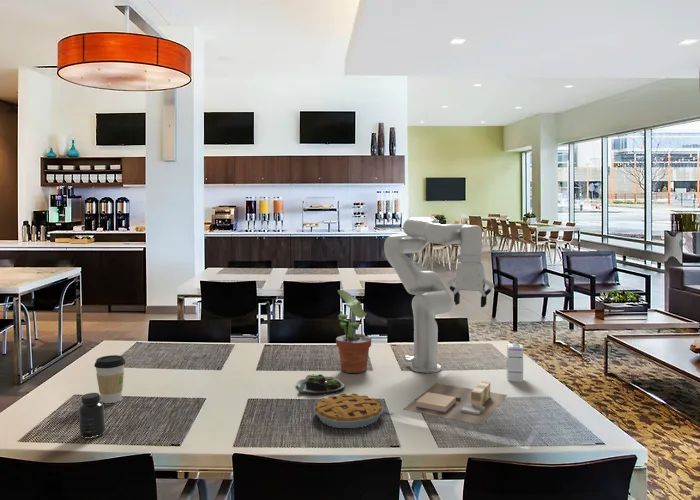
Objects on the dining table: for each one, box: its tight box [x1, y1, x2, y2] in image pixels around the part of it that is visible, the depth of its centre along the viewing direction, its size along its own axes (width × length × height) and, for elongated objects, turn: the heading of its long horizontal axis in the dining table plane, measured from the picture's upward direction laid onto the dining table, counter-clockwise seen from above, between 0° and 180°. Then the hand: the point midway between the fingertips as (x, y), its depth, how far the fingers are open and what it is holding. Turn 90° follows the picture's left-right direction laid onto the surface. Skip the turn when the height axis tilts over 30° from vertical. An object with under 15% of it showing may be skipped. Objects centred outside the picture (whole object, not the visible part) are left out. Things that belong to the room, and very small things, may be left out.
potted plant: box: [335, 289, 372, 374], centre depth 226 cm, size 16×15×35 cm
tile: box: [416, 392, 456, 413], centre depth 185 cm, size 10×2×10 cm
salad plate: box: [296, 373, 346, 396], centre depth 209 cm, size 19×18×5 cm
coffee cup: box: [94, 354, 126, 403], centre depth 193 cm, size 10×10×15 cm
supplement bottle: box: [78, 392, 106, 437], centre depth 166 cm, size 7×7×12 cm
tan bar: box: [461, 381, 491, 415], centre depth 186 cm, size 18×6×5 cm, turn 151°
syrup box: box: [506, 343, 524, 383], centre depth 212 cm, size 6×6×14 cm
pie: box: [313, 393, 384, 429], centre depth 179 cm, size 22×22×5 cm
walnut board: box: [402, 382, 508, 426], centre depth 188 cm, size 26×30×2 cm
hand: (470, 305), depth 206 cm, fingers open, 9 cm apart
